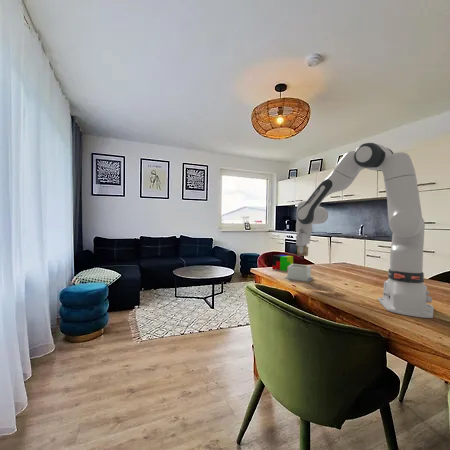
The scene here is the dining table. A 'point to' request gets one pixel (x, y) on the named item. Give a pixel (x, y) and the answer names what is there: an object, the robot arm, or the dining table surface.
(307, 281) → the tray
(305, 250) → the oak cube
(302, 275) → the grey box
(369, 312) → the dining table surface
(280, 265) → the puzzle toy
